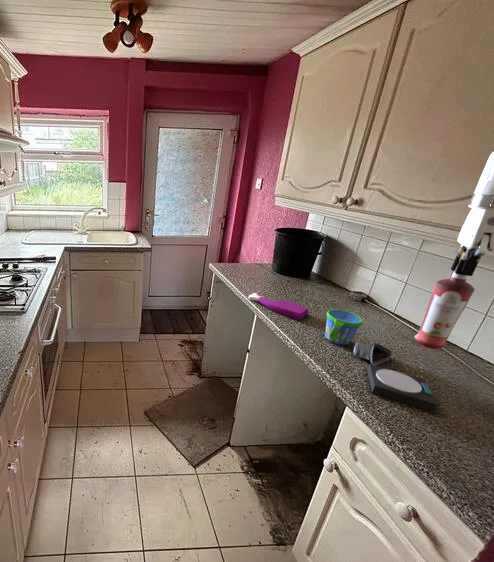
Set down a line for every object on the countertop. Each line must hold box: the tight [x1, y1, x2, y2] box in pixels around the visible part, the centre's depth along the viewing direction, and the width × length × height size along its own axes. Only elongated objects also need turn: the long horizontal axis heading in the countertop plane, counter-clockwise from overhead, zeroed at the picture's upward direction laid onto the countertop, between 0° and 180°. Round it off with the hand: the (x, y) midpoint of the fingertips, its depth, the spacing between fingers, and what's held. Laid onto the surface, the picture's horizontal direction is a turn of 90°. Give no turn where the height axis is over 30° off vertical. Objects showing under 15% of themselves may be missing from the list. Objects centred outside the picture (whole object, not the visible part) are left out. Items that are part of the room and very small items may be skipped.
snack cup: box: [324, 308, 364, 346], centre depth 112 cm, size 16×11×10 cm
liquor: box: [414, 252, 476, 350], centre depth 86 cm, size 7×7×28 cm
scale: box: [366, 363, 437, 413], centre depth 89 cm, size 13×12×3 cm
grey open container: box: [353, 341, 393, 366], centre depth 104 cm, size 10×7×12 cm
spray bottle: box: [248, 292, 309, 320], centre depth 139 cm, size 3×11×24 cm
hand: (461, 272), depth 83 cm, fingers closed on liquor, 2 cm apart
